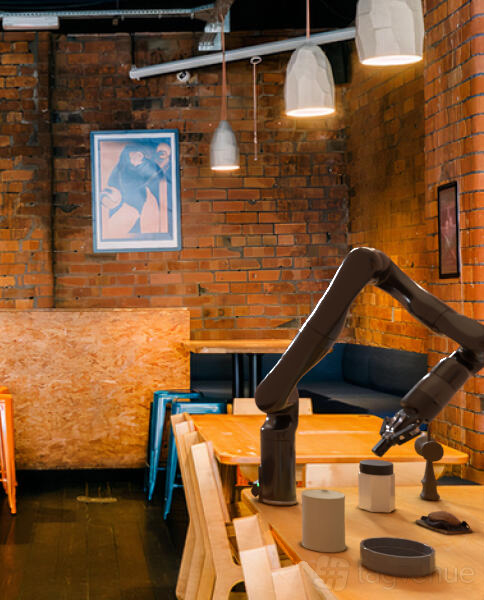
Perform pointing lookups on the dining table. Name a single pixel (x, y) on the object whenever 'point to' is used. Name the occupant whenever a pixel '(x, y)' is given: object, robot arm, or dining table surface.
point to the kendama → (429, 464)
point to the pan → (397, 556)
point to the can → (323, 520)
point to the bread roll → (444, 523)
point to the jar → (376, 486)
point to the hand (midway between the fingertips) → (375, 454)
